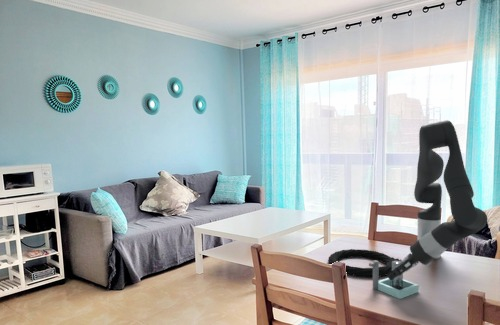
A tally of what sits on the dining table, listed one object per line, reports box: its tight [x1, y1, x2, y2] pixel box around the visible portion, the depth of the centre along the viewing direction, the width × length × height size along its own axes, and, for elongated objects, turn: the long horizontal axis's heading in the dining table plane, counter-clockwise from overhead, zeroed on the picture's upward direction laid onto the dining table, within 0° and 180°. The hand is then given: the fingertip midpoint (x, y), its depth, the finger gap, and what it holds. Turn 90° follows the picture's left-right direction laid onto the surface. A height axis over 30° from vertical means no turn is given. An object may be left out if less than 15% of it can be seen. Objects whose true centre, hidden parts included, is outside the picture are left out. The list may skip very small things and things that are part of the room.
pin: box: [390, 261, 404, 290], centre depth 127 cm, size 5×5×10 cm
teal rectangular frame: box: [368, 259, 419, 300], centre depth 127 cm, size 13×11×10 cm
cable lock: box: [327, 248, 403, 278], centre depth 152 cm, size 28×4×30 cm
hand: (392, 274), depth 128 cm, fingers open, 7 cm apart
